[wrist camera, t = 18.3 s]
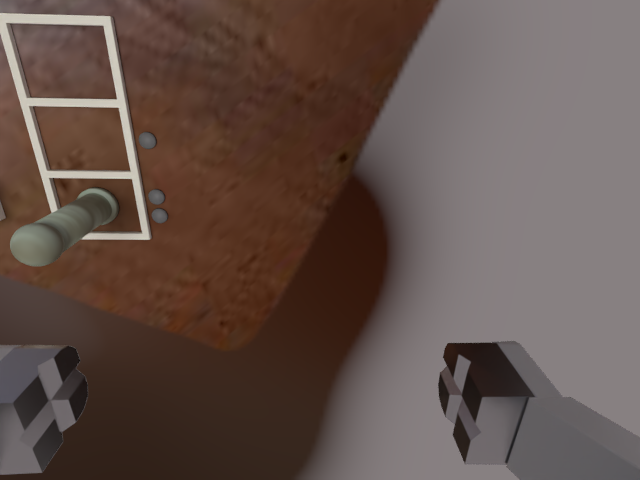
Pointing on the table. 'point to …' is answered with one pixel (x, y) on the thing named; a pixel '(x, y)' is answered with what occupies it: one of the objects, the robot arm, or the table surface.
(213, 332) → the table surface
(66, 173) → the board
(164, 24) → the table surface
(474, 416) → the robot arm
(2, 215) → the die
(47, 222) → the pawn
